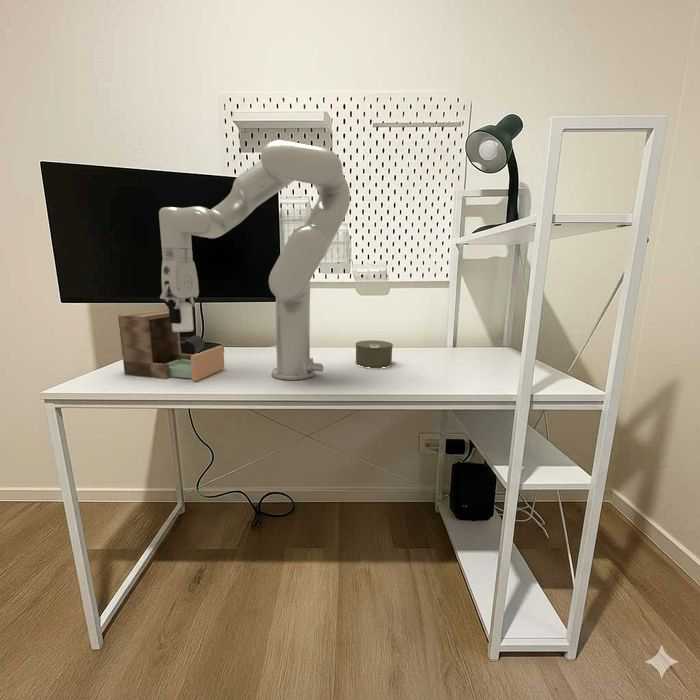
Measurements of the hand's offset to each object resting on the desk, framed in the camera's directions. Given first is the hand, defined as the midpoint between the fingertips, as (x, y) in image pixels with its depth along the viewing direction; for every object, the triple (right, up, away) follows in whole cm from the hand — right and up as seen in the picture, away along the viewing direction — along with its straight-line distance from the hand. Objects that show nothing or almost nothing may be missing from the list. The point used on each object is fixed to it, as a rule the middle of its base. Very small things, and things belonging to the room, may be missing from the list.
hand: (182, 321), depth 110 cm
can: (+55, -13, +17) cm, 59 cm away
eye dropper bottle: (0, -3, +1) cm, 3 cm away
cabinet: (-8, -14, +5) cm, 17 cm away
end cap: (-7, -11, +23) cm, 27 cm away
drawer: (+1, -15, +3) cm, 15 cm away
